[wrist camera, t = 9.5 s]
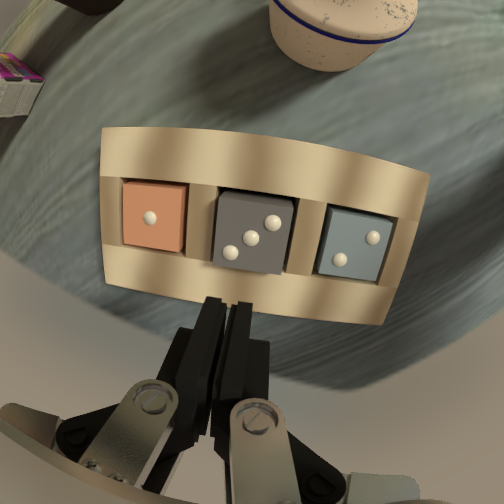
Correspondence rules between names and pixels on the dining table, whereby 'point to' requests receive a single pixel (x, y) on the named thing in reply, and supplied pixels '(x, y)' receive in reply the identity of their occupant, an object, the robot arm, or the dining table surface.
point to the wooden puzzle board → (263, 180)
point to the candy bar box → (17, 87)
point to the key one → (155, 213)
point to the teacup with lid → (337, 29)
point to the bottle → (91, 5)
